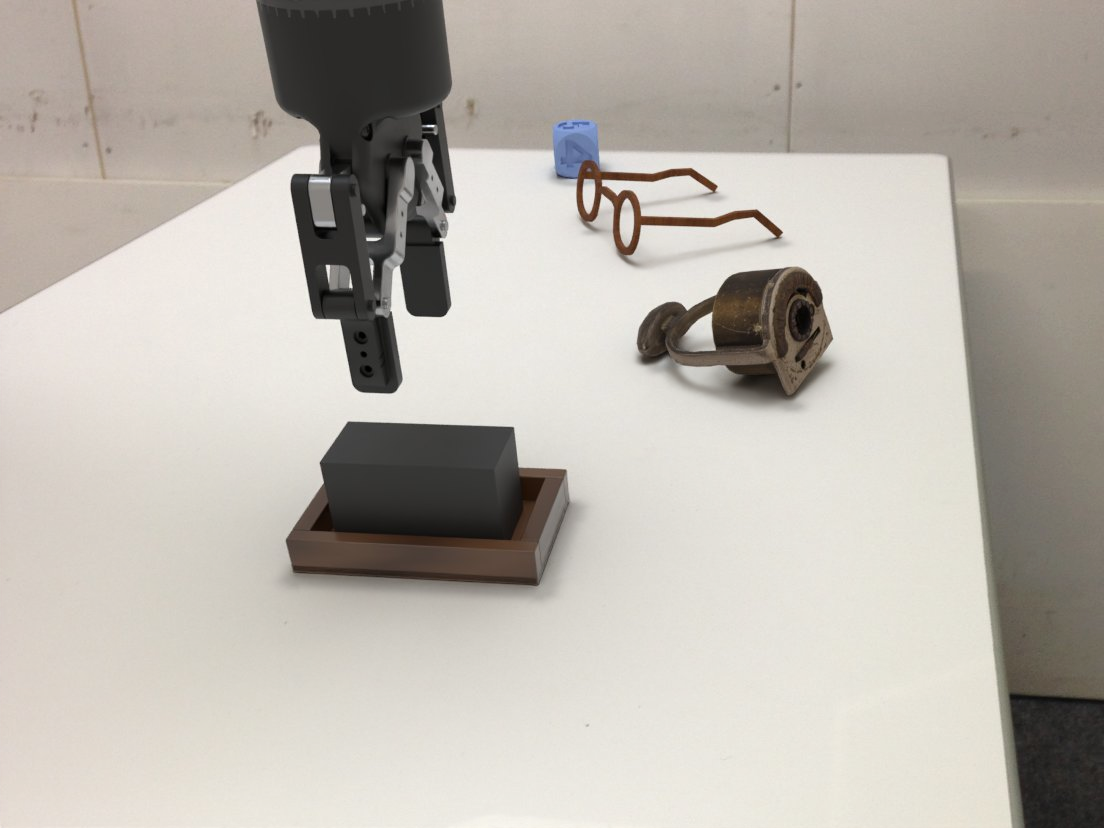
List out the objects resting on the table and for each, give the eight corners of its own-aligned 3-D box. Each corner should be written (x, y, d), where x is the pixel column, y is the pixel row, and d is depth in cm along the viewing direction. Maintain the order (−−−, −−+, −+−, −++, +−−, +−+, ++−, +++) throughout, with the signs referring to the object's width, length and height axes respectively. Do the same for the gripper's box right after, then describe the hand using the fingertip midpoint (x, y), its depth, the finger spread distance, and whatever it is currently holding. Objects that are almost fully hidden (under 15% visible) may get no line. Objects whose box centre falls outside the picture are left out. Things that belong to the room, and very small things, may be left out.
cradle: (292, 572, 66) (284, 539, 65) (345, 490, 72) (338, 459, 71) (538, 585, 64) (534, 552, 63) (570, 500, 71) (567, 468, 69)
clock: (524, 507, 69) (514, 425, 66) (504, 554, 66) (493, 469, 63) (365, 501, 70) (348, 419, 67) (337, 546, 67) (318, 462, 64)
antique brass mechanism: (731, 344, 73) (861, 264, 76) (602, 261, 81) (724, 192, 84) (744, 440, 78) (864, 362, 81) (622, 354, 86) (736, 285, 89)
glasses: (574, 216, 107) (569, 155, 104) (716, 190, 111) (715, 131, 108) (631, 268, 97) (628, 202, 94) (785, 238, 101) (787, 174, 98)
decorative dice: (600, 176, 115) (597, 130, 113) (555, 179, 115) (552, 133, 113) (599, 163, 118) (596, 117, 116) (556, 165, 118) (552, 120, 116)
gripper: (382, 21, 46) (441, 423, 56) (479, -53, 57) (514, 293, 67) (187, 22, 47) (279, 416, 57) (319, -51, 58) (376, 290, 68)
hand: (406, 349), depth 62 cm, fingers open, 8 cm apart
